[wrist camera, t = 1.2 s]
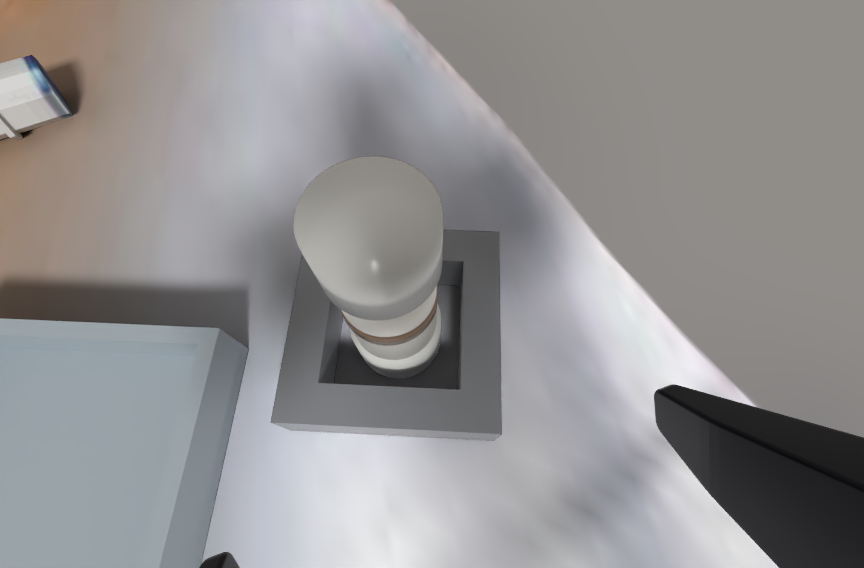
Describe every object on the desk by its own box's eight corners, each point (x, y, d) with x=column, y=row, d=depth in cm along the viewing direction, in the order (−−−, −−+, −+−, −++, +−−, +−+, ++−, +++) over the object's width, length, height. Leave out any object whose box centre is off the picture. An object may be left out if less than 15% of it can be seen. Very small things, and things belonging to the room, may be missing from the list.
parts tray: (144, 820, 17) (74, 899, 14) (-217, 792, 17) (-366, 862, 14) (248, 349, 24) (219, 327, 21) (-6, 337, 25) (-73, 315, 21)
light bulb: (438, 380, 23) (440, 287, 12) (354, 376, 23) (280, 280, 12) (442, 301, 25) (446, 158, 14) (363, 298, 25) (306, 153, 14)
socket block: (493, 440, 22) (501, 434, 19) (291, 430, 22) (270, 422, 20) (492, 258, 26) (499, 231, 23) (321, 251, 26) (307, 224, 24)
